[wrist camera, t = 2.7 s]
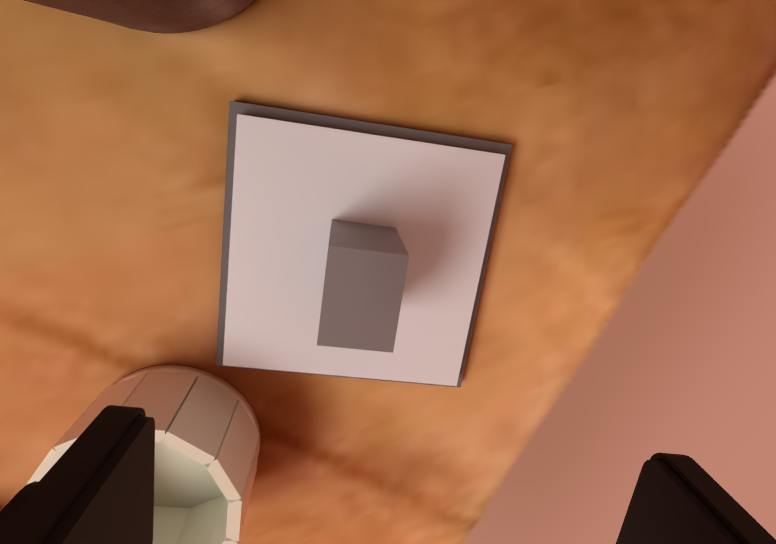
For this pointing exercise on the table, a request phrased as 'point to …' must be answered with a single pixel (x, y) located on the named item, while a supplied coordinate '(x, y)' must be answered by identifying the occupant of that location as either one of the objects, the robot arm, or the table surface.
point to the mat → (355, 127)
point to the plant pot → (153, 12)
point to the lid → (354, 251)
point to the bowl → (187, 450)
